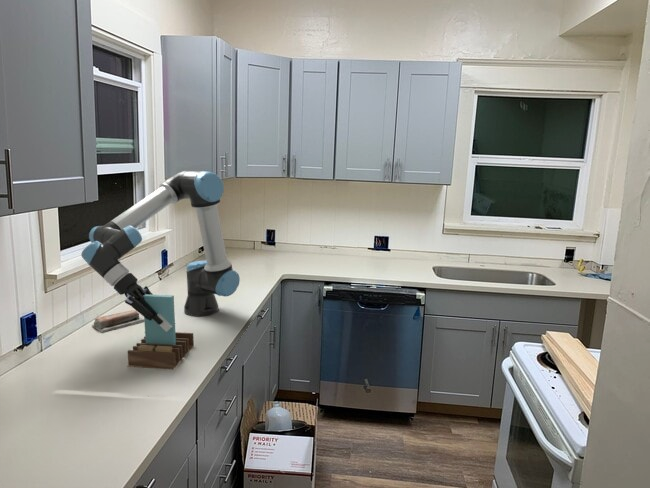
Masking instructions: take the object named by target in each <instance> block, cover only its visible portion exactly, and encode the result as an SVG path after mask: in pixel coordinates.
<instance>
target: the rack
mask: <svg viewBox="0 0 650 488" xmlns="http://www.w3.org/2000/svg"><path fill="white" fill-rule="evenodd" d="M175 333H176V345H170V344H151V343H146V339H145V336H143V338H141V339H140V342H136V345H133V346H132V349H131V350H130V349H128V350H127V363H128V364H127V366H126V367H127V368H138V369H139V368H140V369H141V368H143V369H157V370H159V369H160V370H162V369H163V370H174V369H175V368H176V367H177V366H178V365H179V364H180V363H181V361H182V360H184V358H185V357H186V355H187V354H188V353H190V351H191V350H192V348H194V346H195V345H194V343H195V342H194V333H193V332H179V331H178V332H176V331H175ZM140 345H152V346H155V348H156V347H157V346H171V347H172V352H155V351H138V347H139V346H140Z"/></svg>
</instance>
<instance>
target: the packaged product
mask: <svg viewBox="0 0 650 488" xmlns="http://www.w3.org/2000/svg"><path fill="white" fill-rule="evenodd" d="M141 323H145V322H144V317H140V313H139V312H138V311H136V310H127V311H122V312H117V313H112V314H109V315H105V316H104V315H103V316H100V317H96V318H95V319H94V322H93V324H91V327H92V328H94V329H95V330H97V331H98V332H100V333H107V332H111V331H115V330H119V329H123V328H126V327H131V326H134V325H138V324H141Z"/></svg>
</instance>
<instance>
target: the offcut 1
mask: <svg viewBox="0 0 650 488" xmlns="http://www.w3.org/2000/svg"><path fill="white" fill-rule="evenodd" d="M138 351H155V346H152V345H140V346H139V347H138Z"/></svg>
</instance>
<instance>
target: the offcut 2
mask: <svg viewBox="0 0 650 488" xmlns="http://www.w3.org/2000/svg"><path fill="white" fill-rule="evenodd" d="M155 352H172V347H171V346H157V347H156V348H155Z"/></svg>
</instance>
